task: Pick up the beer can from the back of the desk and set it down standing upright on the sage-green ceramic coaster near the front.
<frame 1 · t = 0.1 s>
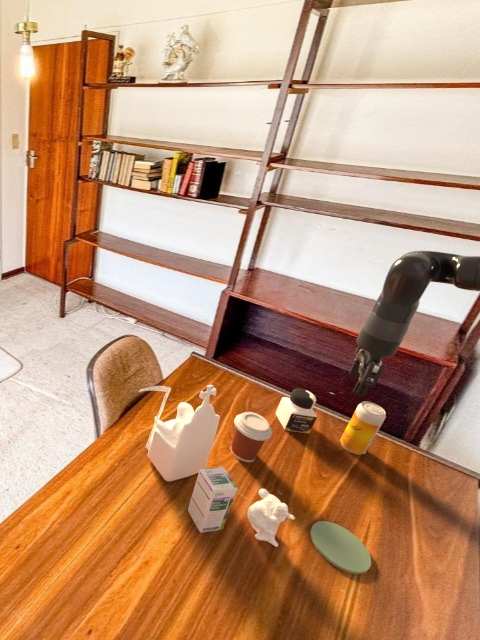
hand: (355, 385, 101), 25 cm above the table, tool pointing down, fingers open, 8 cm apart
coffee cup: (242, 453, 111), on the table
beer can: (351, 448, 114), on the table
coaster: (338, 547, 88), on the table
syrup box: (203, 520, 93), on the table
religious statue: (165, 460, 108), on the table
medicine bottle: (291, 424, 122), on the table
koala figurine: (261, 533, 91), on the table
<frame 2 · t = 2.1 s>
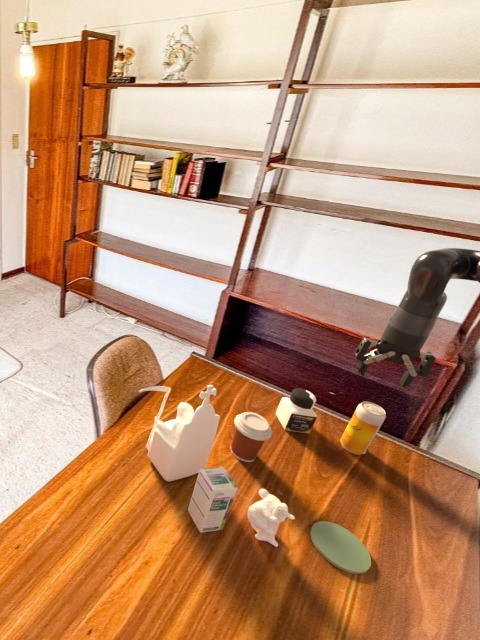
hand: (381, 379, 103), 25 cm above the table, tool pointing down, fingers open, 8 cm apart
nothing on the table moved.
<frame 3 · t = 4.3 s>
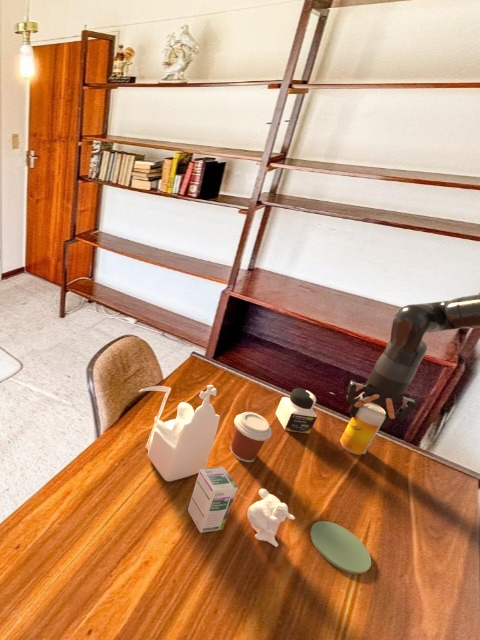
hand: (366, 420, 110), 11 cm above the table, tool pointing down, fingers closed on beer can, 6 cm apart
beer can: (351, 448, 114), on the table, touching gripper
everything else where it was.
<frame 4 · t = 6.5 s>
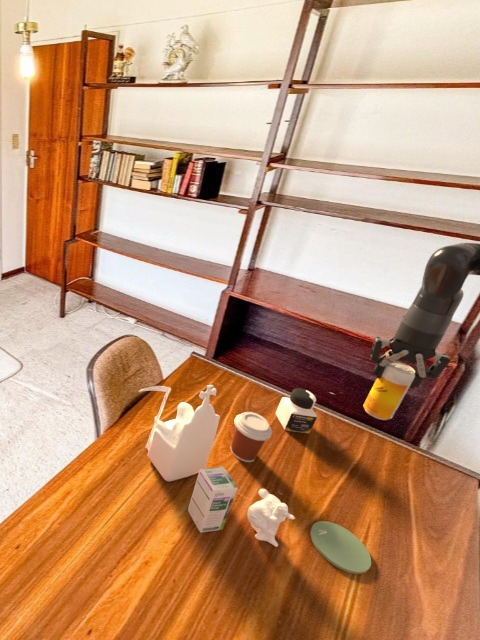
hand: (393, 381, 100), 27 cm above the table, tool pointing down, fingers closed on beer can, 6 cm apart
beer can: (376, 413, 104), point 16 cm above the table, touching gripper
everything else where it was.
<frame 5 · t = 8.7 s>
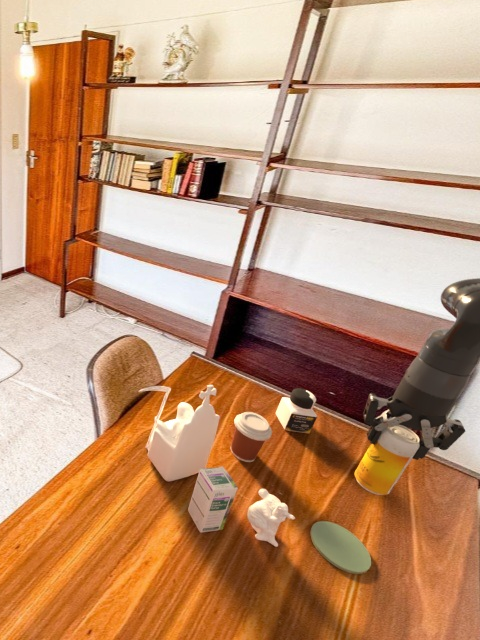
hand: (392, 448, 80), 27 cm above the table, tool pointing down, fingers closed on beer can, 6 cm apart
beer can: (370, 484, 84), point 17 cm above the table, touching gripper
everything else where it was.
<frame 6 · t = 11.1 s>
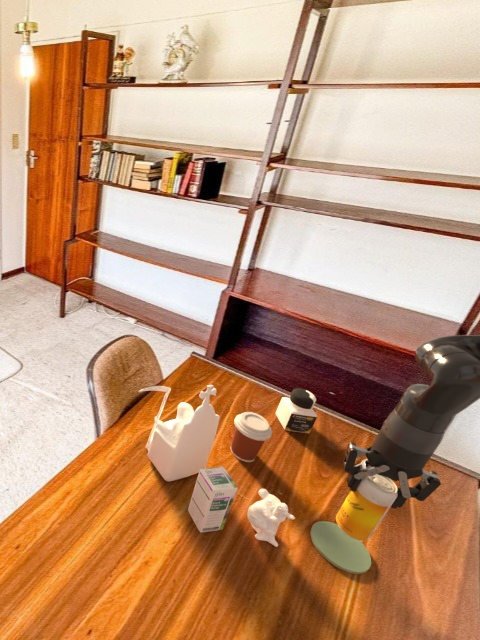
hand: (371, 496, 81), 17 cm above the table, tool pointing down, fingers closed on beer can, 6 cm apart
beer can: (351, 529, 86), point 7 cm above the table, touching gripper
everything else where it was.
when the fingers open (11 cm above the table, at t = 13.0 s): beer can stays where it is, resting on coaster.
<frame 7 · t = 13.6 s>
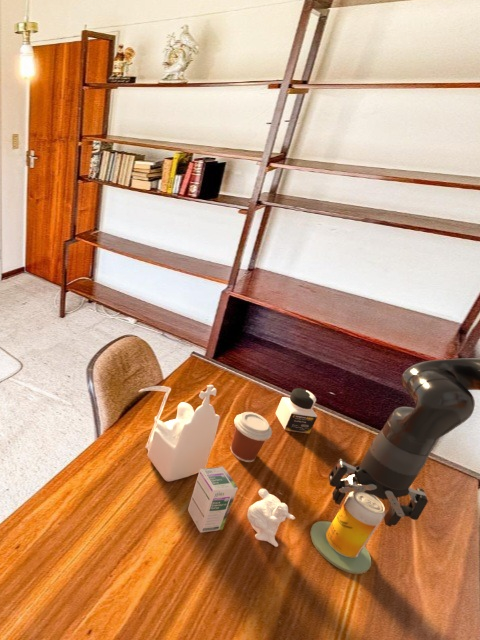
hand: (361, 511, 83), 12 cm above the table, tool pointing down, fingers open, 8 cm apart
beer can: (340, 545, 88), point 1 cm above the table, touching coaster
everything else where it was.
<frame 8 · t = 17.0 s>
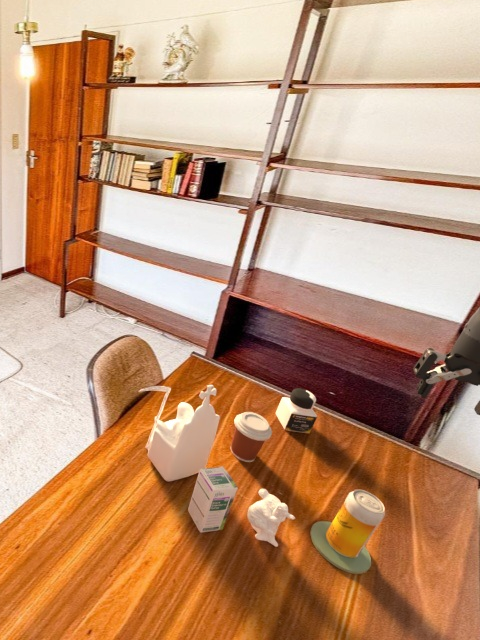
hand: (449, 404, 79), 36 cm above the table, tool pointing down, fingers open, 8 cm apart
nothing on the table moved.
at the end: beer can 0.1 cm off-centre on the coaster, point 0.6 cm above the coaster's base; beer can tilted 0°; the gripper is holding nothing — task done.
